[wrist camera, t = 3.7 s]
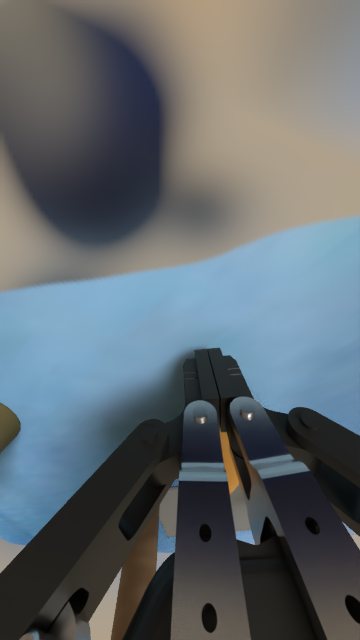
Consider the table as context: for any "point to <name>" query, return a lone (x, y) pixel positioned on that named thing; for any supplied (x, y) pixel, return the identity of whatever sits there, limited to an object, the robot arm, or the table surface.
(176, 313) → the table surface
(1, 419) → the brown pawn
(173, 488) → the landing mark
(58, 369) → the table surface
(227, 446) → the ball
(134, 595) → the post
